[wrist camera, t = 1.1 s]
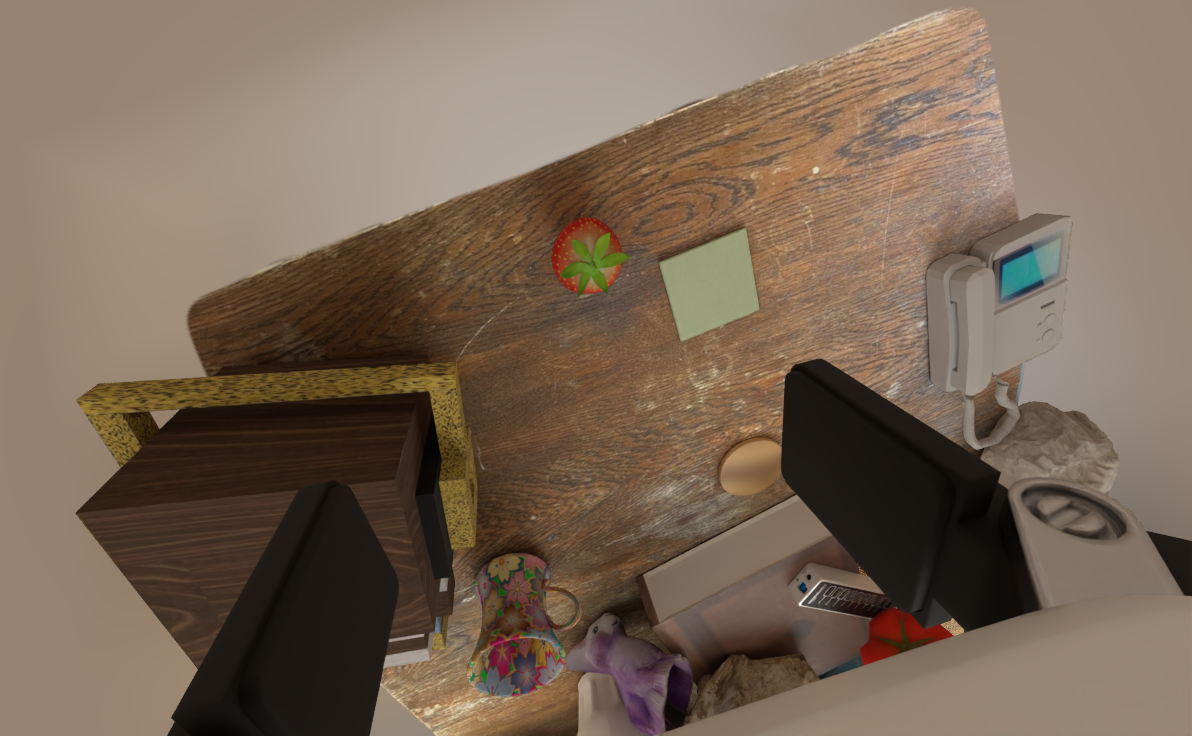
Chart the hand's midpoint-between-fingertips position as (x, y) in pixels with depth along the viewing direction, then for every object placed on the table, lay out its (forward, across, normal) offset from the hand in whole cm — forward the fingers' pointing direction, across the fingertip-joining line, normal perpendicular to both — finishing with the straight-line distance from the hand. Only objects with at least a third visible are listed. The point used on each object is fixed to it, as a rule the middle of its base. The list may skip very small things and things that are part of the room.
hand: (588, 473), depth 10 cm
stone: (+18, -52, +42) cm, 69 cm away
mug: (+30, +8, +37) cm, 48 cm away
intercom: (+27, -51, +33) cm, 66 cm away
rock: (+24, -24, +61) cm, 69 cm away
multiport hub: (+23, -28, +46) cm, 59 cm away
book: (+30, -21, +53) cm, 65 cm away
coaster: (+30, -20, +30) cm, 47 cm away
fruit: (+30, -5, +2) cm, 30 cm away
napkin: (+30, -16, +8) cm, 34 cm away
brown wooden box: (+24, +22, +34) cm, 47 cm away
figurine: (+20, -6, +51) cm, 56 cm away
